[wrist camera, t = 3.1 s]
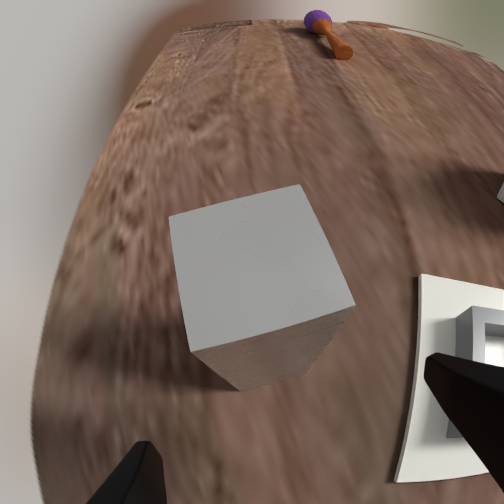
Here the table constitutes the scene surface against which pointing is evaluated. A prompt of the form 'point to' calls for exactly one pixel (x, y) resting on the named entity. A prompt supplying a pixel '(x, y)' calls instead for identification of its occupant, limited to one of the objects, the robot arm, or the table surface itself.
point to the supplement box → (501, 194)
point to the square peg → (258, 286)
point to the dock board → (455, 344)
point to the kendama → (327, 33)
